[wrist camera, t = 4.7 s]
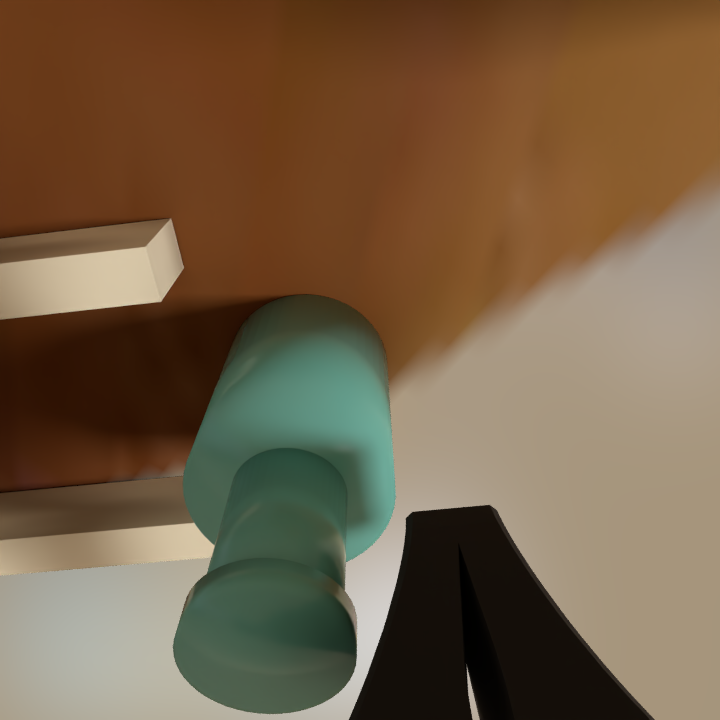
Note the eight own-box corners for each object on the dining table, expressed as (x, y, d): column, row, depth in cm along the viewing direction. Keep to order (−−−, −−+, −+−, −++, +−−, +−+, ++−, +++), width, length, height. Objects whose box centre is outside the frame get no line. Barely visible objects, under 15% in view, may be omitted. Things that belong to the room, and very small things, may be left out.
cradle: (-94, 535, 20) (-139, 587, 18) (-250, 268, 16) (-328, 301, 14) (245, 504, 19) (233, 555, 17) (171, 218, 15) (145, 246, 13)
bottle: (247, 439, 18) (164, 749, 11) (214, 303, 16) (85, 565, 9) (394, 424, 18) (416, 732, 10) (378, 285, 16) (391, 539, 8)
